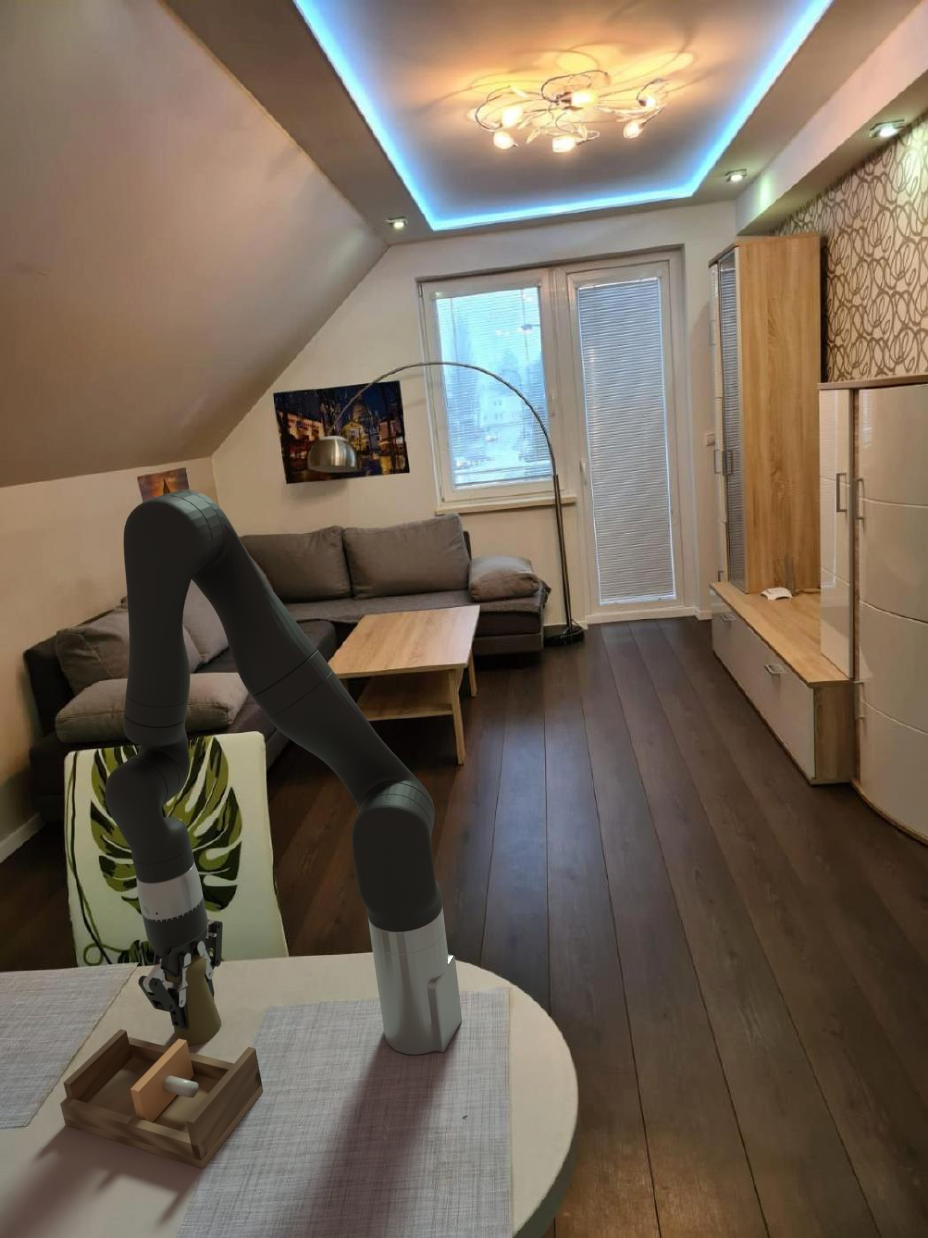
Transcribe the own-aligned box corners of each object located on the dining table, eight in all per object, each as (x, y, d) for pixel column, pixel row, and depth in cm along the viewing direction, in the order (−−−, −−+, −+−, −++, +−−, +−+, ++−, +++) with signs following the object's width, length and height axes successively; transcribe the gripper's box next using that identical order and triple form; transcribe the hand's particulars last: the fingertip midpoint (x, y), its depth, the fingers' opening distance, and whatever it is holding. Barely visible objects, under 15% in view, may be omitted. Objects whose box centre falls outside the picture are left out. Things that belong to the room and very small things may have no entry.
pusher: (219, 1082, 100) (212, 1047, 99) (173, 1136, 93) (165, 1099, 92) (186, 1073, 102) (178, 1038, 101) (138, 1126, 95) (130, 1089, 94)
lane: (263, 1091, 100) (255, 1048, 99) (203, 1169, 90) (193, 1123, 89) (133, 1056, 108) (124, 1017, 106) (65, 1125, 98) (54, 1082, 96)
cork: (207, 1047, 108) (192, 973, 105) (165, 1044, 109) (149, 971, 107) (229, 1014, 114) (215, 943, 111) (189, 1012, 115) (174, 941, 112)
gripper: (155, 938, 99) (181, 1060, 103) (230, 874, 112) (251, 985, 116) (107, 928, 102) (134, 1048, 106) (185, 867, 115) (207, 976, 119)
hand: (195, 1014), depth 111 cm, fingers closed on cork, 4 cm apart
